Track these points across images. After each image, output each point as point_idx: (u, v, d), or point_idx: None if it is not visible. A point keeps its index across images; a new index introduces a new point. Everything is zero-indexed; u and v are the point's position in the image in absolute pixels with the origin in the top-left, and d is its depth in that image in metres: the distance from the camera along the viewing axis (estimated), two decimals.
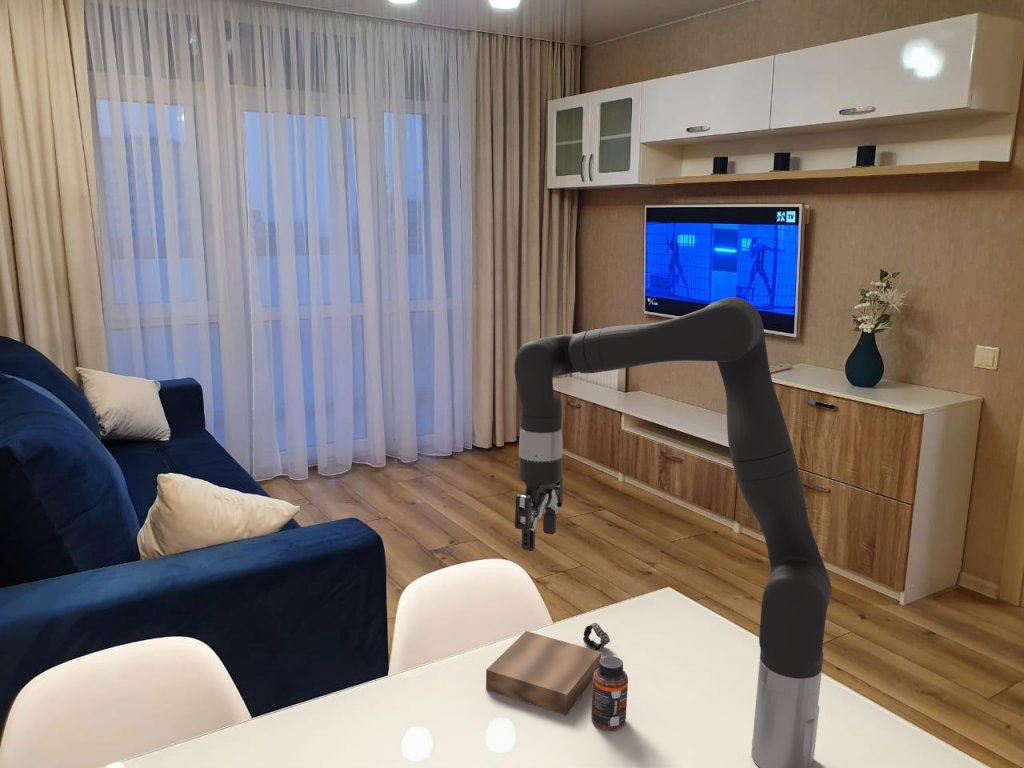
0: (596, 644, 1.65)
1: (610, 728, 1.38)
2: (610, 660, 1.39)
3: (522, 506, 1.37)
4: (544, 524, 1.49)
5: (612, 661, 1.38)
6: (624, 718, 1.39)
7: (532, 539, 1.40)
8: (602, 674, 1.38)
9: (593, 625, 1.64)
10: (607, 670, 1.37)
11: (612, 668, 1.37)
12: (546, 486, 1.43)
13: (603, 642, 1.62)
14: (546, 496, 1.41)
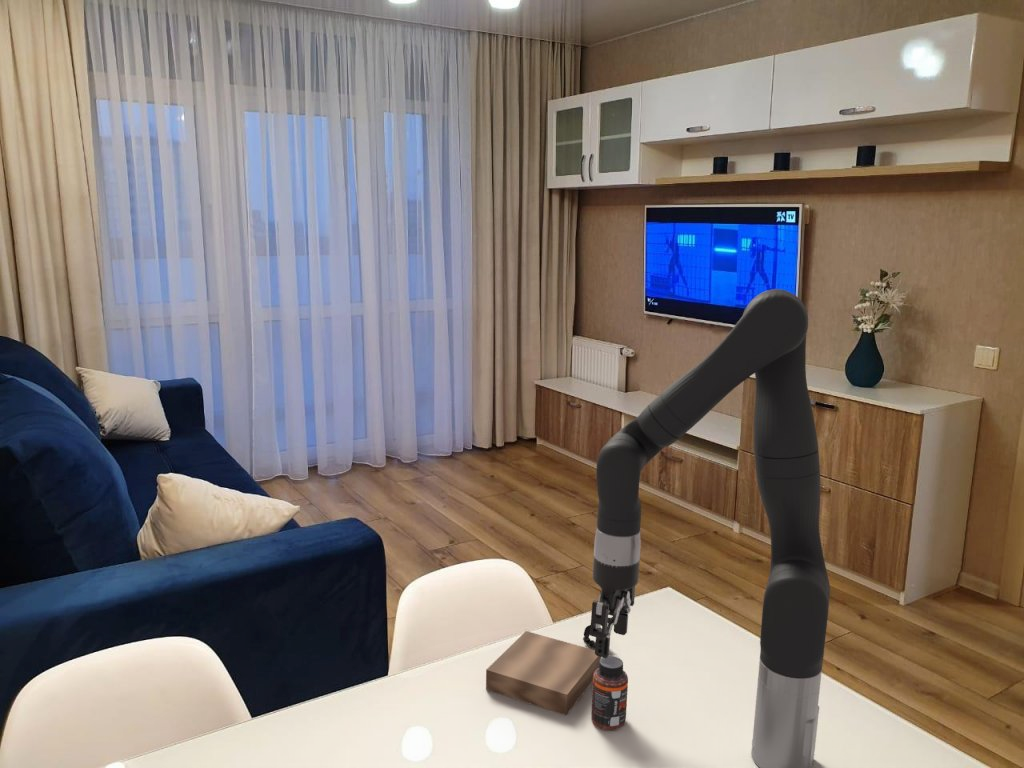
0: None
1: (610, 728, 1.38)
2: (610, 660, 1.39)
3: (599, 614, 1.30)
4: (615, 624, 1.41)
5: (612, 661, 1.38)
6: (624, 718, 1.39)
7: (607, 646, 1.33)
8: (602, 674, 1.38)
9: None
10: (607, 670, 1.37)
11: (612, 668, 1.37)
12: None
13: None
14: (622, 600, 1.34)
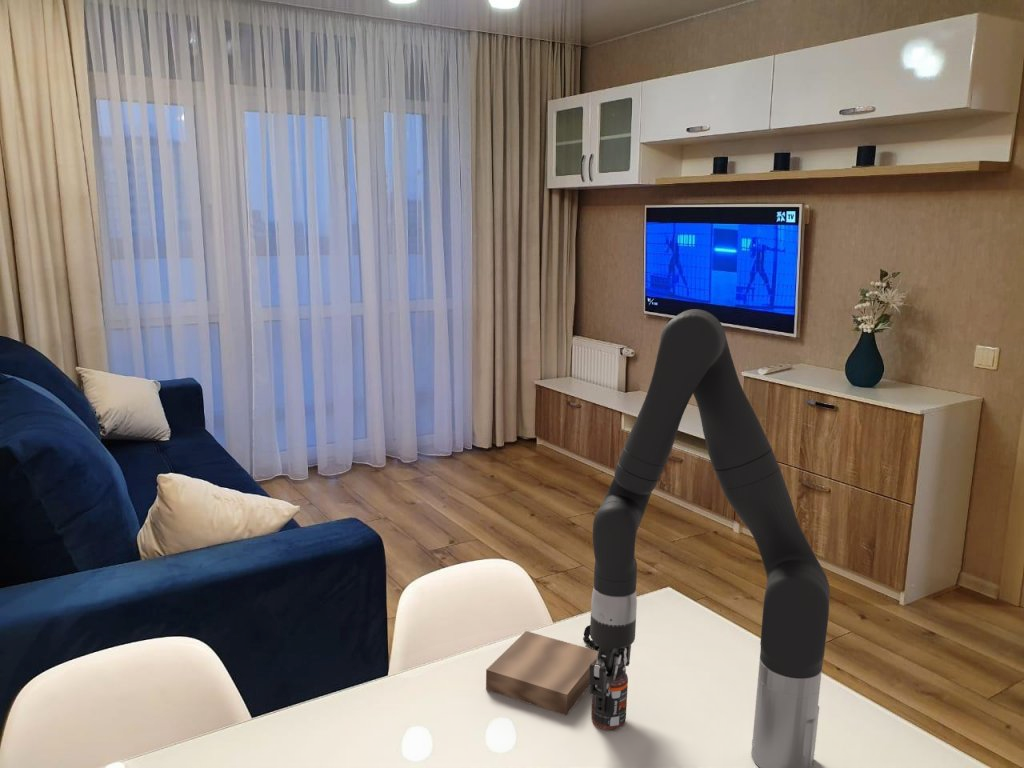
0: (596, 644, 1.65)
1: (610, 728, 1.38)
2: None
3: (597, 676, 1.33)
4: None
5: None
6: (624, 718, 1.39)
7: (607, 703, 1.36)
8: None
9: None
10: None
11: None
12: None
13: None
14: (619, 658, 1.36)
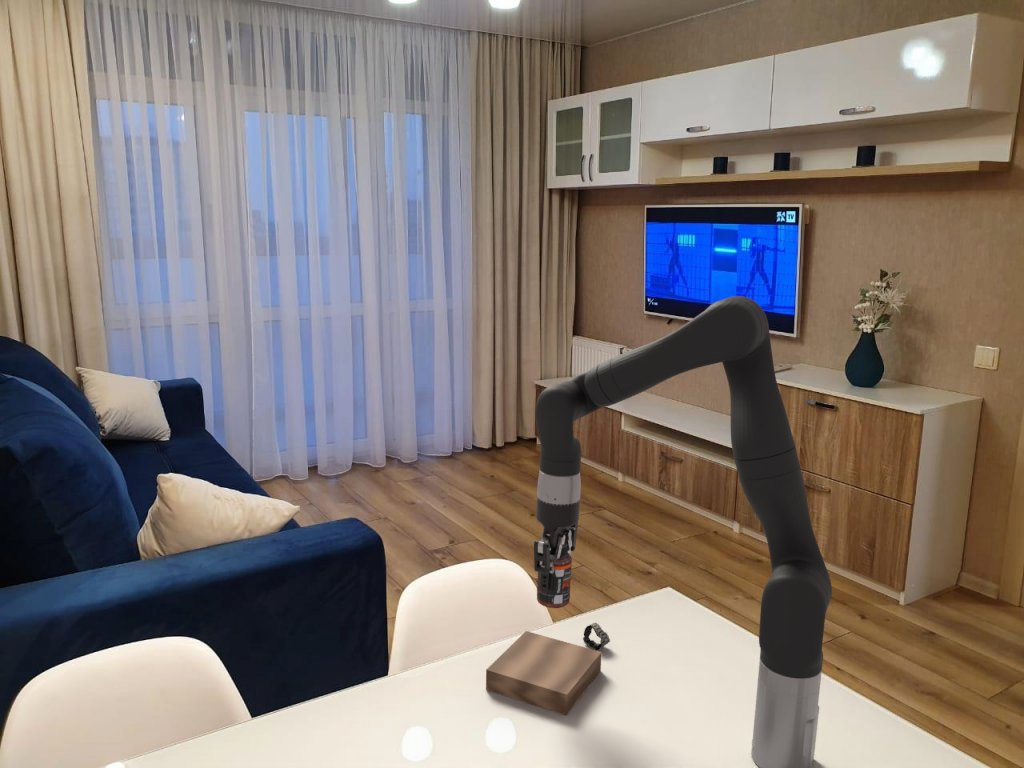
0: (596, 644, 1.65)
1: (554, 606, 1.44)
2: None
3: (540, 552, 1.39)
4: None
5: None
6: (568, 597, 1.46)
7: (551, 581, 1.43)
8: None
9: (593, 625, 1.64)
10: None
11: None
12: (563, 527, 1.44)
13: (603, 642, 1.62)
14: (563, 538, 1.42)
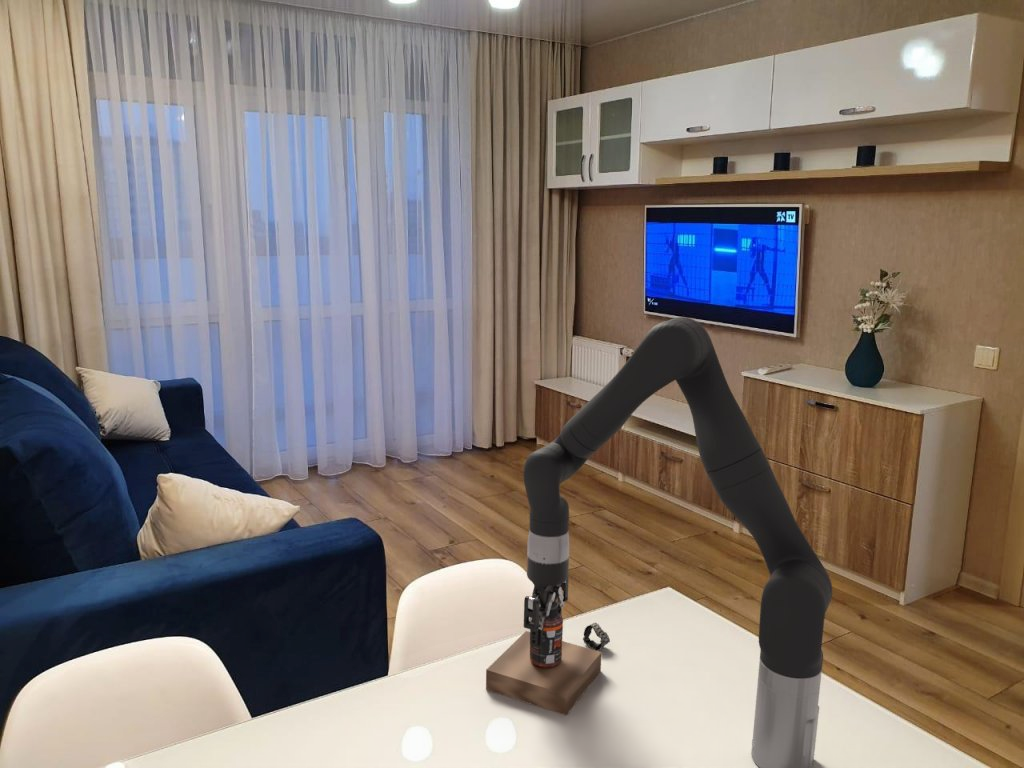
0: (596, 644, 1.65)
1: (546, 665, 1.49)
2: None
3: (530, 608, 1.43)
4: None
5: None
6: (559, 657, 1.50)
7: (540, 637, 1.46)
8: (539, 616, 1.49)
9: (593, 625, 1.64)
10: None
11: None
12: (553, 584, 1.48)
13: (603, 642, 1.62)
14: (553, 595, 1.47)
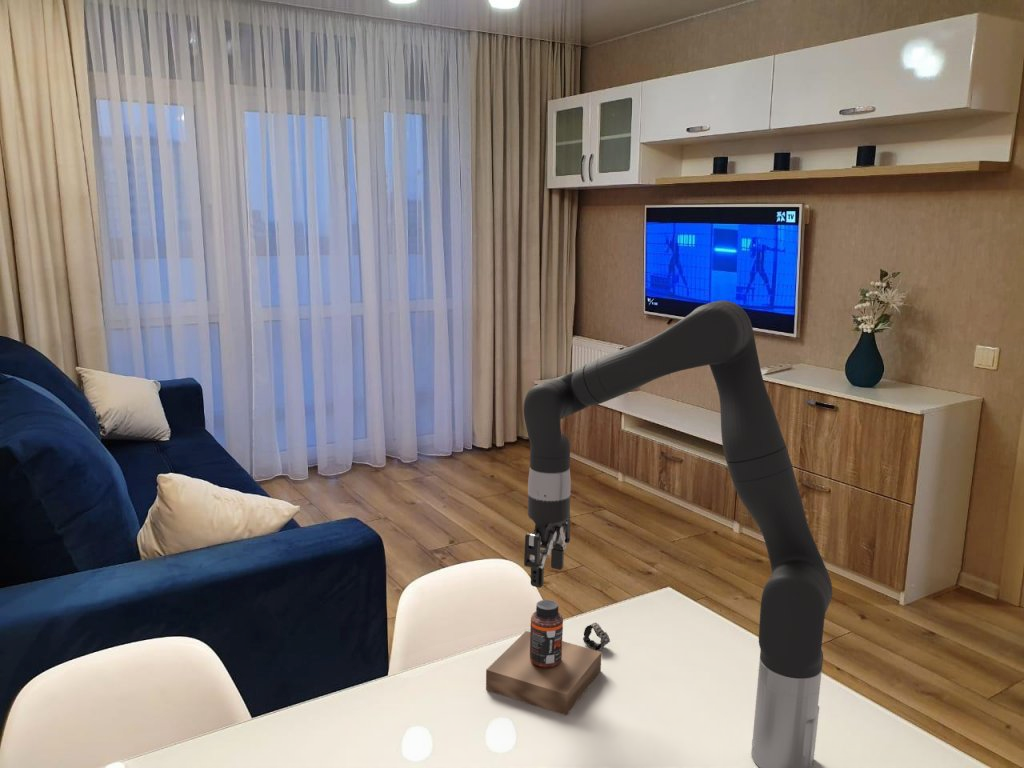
0: (596, 644, 1.65)
1: (546, 665, 1.49)
2: (546, 603, 1.50)
3: (531, 545, 1.41)
4: (552, 559, 1.52)
5: (548, 604, 1.50)
6: (559, 657, 1.50)
7: (541, 576, 1.44)
8: (539, 616, 1.49)
9: (593, 625, 1.64)
10: (542, 612, 1.48)
11: (547, 609, 1.48)
12: (554, 524, 1.46)
13: (603, 642, 1.62)
14: (554, 534, 1.44)
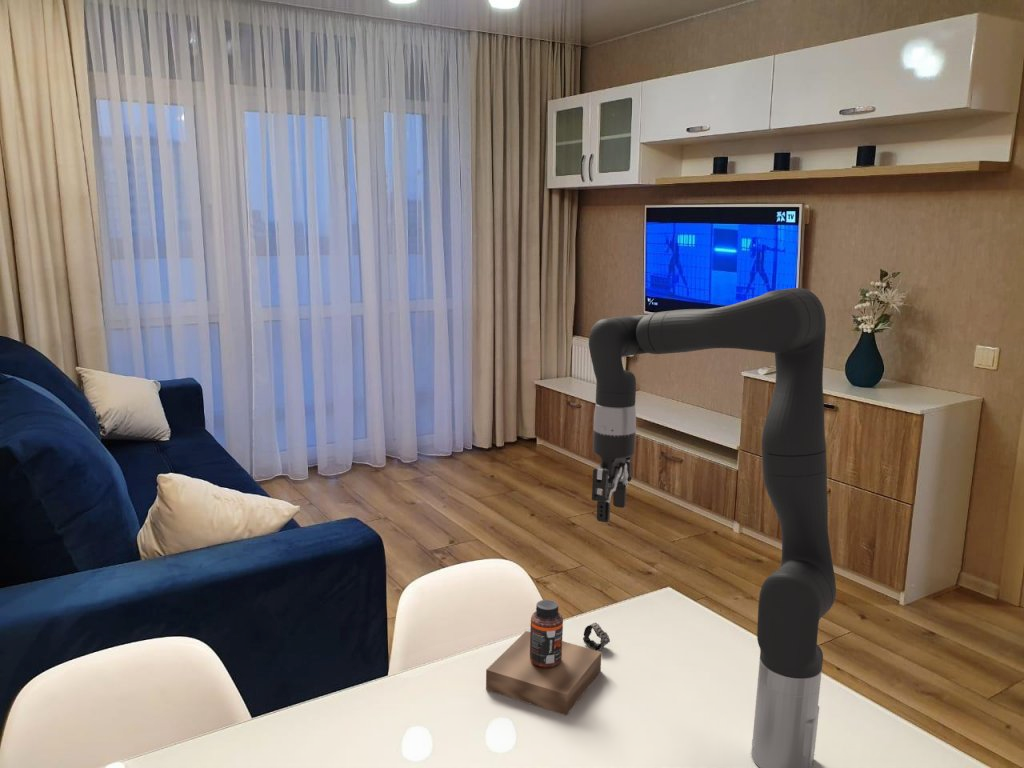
0: (596, 644, 1.65)
1: (546, 665, 1.49)
2: (546, 603, 1.50)
3: (599, 478, 1.43)
4: (614, 498, 1.54)
5: (548, 604, 1.50)
6: (559, 657, 1.50)
7: (607, 511, 1.45)
8: (539, 616, 1.49)
9: (593, 625, 1.64)
10: (542, 612, 1.48)
11: (547, 609, 1.48)
12: (619, 460, 1.48)
13: (603, 642, 1.62)
14: (620, 469, 1.46)
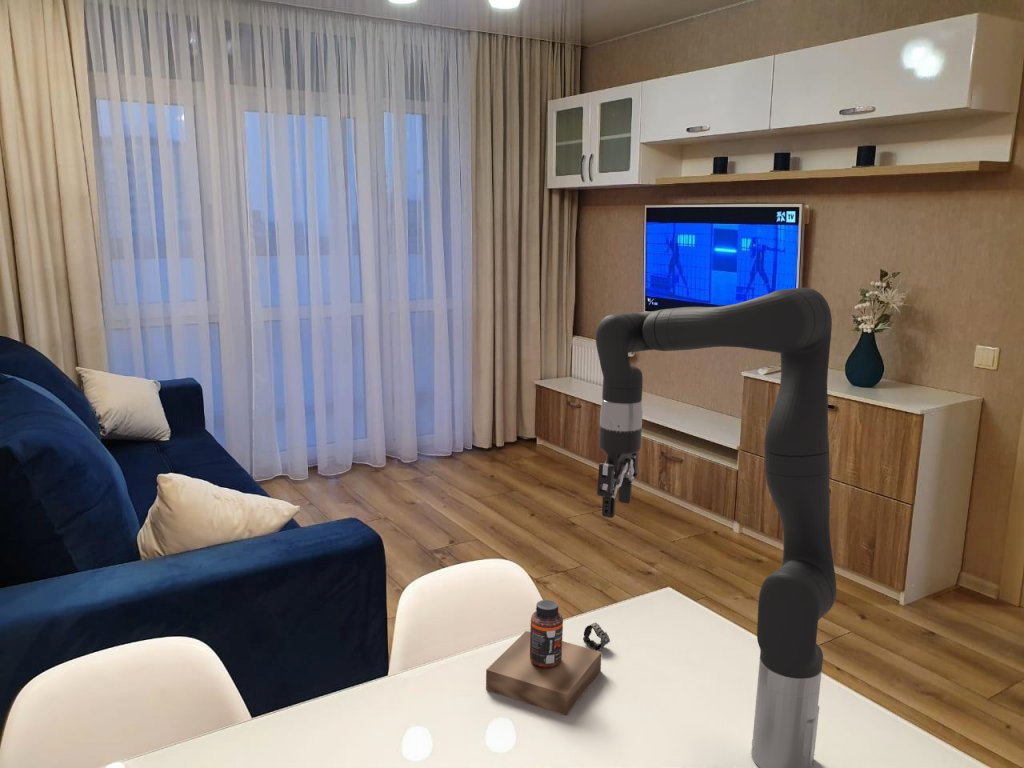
0: (596, 644, 1.65)
1: (546, 665, 1.49)
2: (546, 603, 1.50)
3: (605, 474, 1.43)
4: (620, 493, 1.54)
5: (548, 604, 1.50)
6: (559, 657, 1.50)
7: (613, 506, 1.46)
8: (539, 616, 1.49)
9: (593, 625, 1.64)
10: (542, 612, 1.48)
11: (547, 609, 1.48)
12: (625, 456, 1.48)
13: (603, 642, 1.62)
14: (626, 465, 1.47)
